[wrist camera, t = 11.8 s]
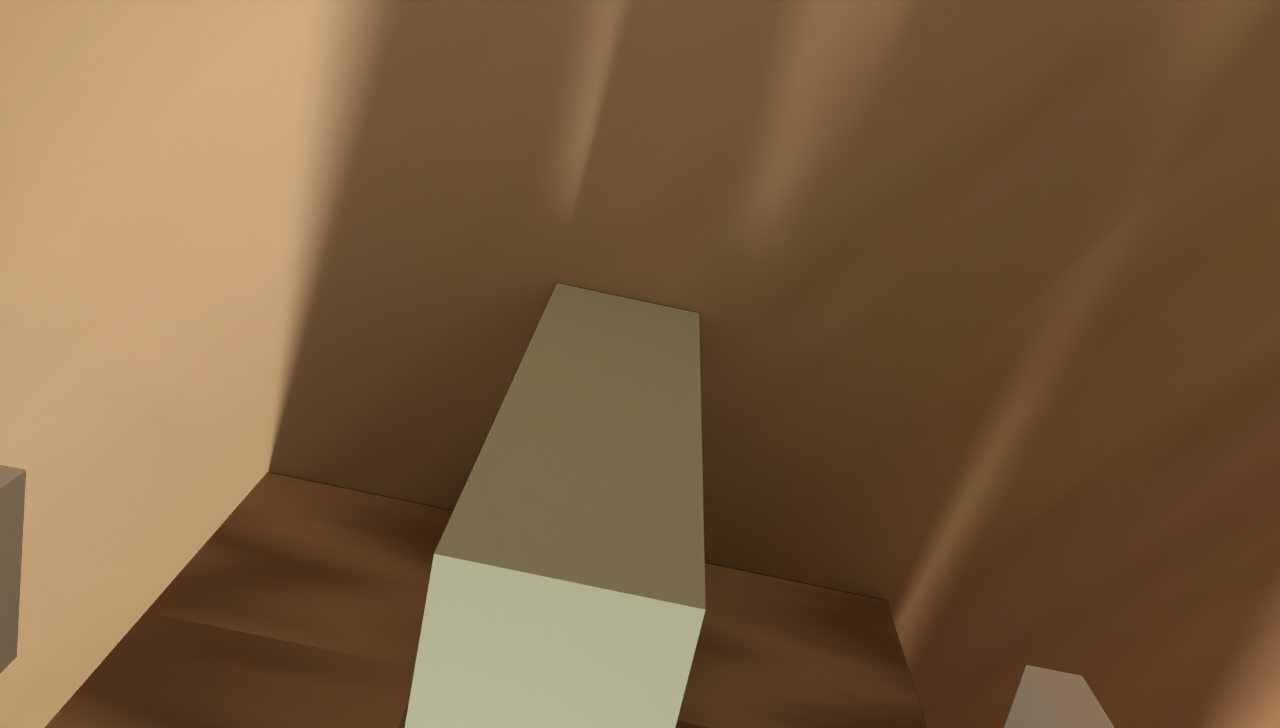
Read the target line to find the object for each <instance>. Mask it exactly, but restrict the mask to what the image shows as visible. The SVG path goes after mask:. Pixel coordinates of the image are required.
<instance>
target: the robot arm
mask: <svg viewBox="0 0 1280 728" xmlns="http://www.w3.org/2000/svg"><path fill="white" fill-rule="evenodd" d="M25 478H26V470H23V469H18V468H13V467H8V466H3V465H0V673H1V672H2V671H3V670H4V669H5V668H6V667H7V666H8V665H9V664H10V663H11V662H12V661H13V660H14V659H15V658H16V657H17V638H18V618H19V598H20V578H21V558H22V538H23V518H24V498H25ZM1004 728H1114V726H1113V725H1112V723H1111V721H1110V720H1109V718H1108V717H1107V715H1106V713H1105V712H1104V710H1103V708H1102V707H1101V705H1100V704H1099V702H1098V700H1097V699H1096V697H1095V696H1094V694H1093V692H1092V691H1091V689H1090V687H1089V686H1088V684H1087V683H1086V681H1085V679H1084V678H1083V676H1081V675H1076V674H1071V673H1065V672H1060V671H1055V670H1050V669H1045V668H1040V667H1035V666H1030V665H1026V667H1025V670H1024V673H1023V676H1022V678H1021V681H1020V684H1019V687H1018V690H1017V692H1016V695H1015V698H1014V701H1013V704H1012V707H1011V709H1010V712H1009V715H1008V718H1007V721H1006V723H1005V726H1004Z"/></svg>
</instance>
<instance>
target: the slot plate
mask: <svg viewBox="0 0 1280 728" xmlns="http://www.w3.org/2000/svg"><path fill="white" fill-rule="evenodd" d="M705 610H706V605H705V559H704V513H703V467H702V421H701V375H700V329H699V313H695V312H691V311H686V310H681V309H677V308H672V307H667V306H662V305H658V304H653V303H648V302H644V301H639V300H634V299H629V298H625V297H620V296H615V295H611V294H606V293H601V292H596V291H592V290H587V289H582V288H578V287H573V286H568V285H563V284H559V283H557V284H556V286H555V288H554V291H553V293H552V295H551V297H550V299H549V302H548V304H547V306H546V308H545V310H544V313H543V315H542V317H541V319H540V321H539V324H538V326H537V328H536V330H535V332H534V335H533V337H532V339H531V341H530V343H529V346H528V348H527V350H526V352H525V355H524V357H523V359H522V361H521V363H520V366H519V368H518V370H517V372H516V374H515V377H514V379H513V381H512V383H511V385H510V388H509V390H508V392H507V394H506V396H505V399H504V401H503V403H502V405H501V407H500V410H499V412H498V414H497V416H496V418H495V421H494V423H493V425H492V427H491V429H490V432H489V434H488V436H487V438H486V440H485V443H484V445H483V447H482V449H481V451H480V454H479V456H478V458H477V460H476V462H475V465H474V467H473V469H472V471H471V473H470V476H469V478H468V480H467V482H466V484H465V487H464V489H463V491H462V493H461V495H460V498H459V500H458V502H457V504H456V506H455V509H454V511H453V513H452V515H451V517H450V520H449V522H448V524H447V526H446V528H445V531H444V533H443V535H442V537H441V539H440V542H439V544H438V546H437V548H436V550H435V553H434V557H433V562H432V568H431V574H430V580H429V586H428V592H427V598H426V604H425V610H424V616H423V622H422V628H421V634H420V640H419V646H418V652H417V657H416V663H415V669H414V675H413V681H412V687H411V693H410V699H409V705H408V711H407V717H406V723H405V728H675V727H676V723H677V719H678V716H679V712H680V708H681V704H682V700H683V696H684V692H685V688H686V684H687V680H688V677H689V673H690V669H691V665H692V661H693V657H694V653H695V649H696V645H697V641H698V637H699V634H700V630H701V626H702V622H703V618H704V614H705Z"/></svg>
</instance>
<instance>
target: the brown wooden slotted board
mask: <svg viewBox="0 0 1280 728" xmlns="http://www.w3.org/2000/svg"><path fill="white" fill-rule="evenodd" d="M452 513H453V511H451V510H447V509H442V508H437V507H432V506H427V505H422V504H418V503H413V502H408V501H403V500H398V499H393V498H389V497H384V496H379V495H374V494H369V493H365V492H360V491H355V490H350V489H345V488H340V487H336V486H331V485H326V484H321V483H316V482H311V481H307V480H302V479H297V478H292V477H287V476H283V475H278V474H273V473H268V472H267V473H266V475H265V476H264V477H263V478H262V479H261V480H260V482H259V483H258V484H257V485H256V486H255V487H254V488H253V490H252V491H251V492H250V493H249V494H248V495H247V496H246V498H245V499H244V500H243V501H242V502H241V503H240V504H239V506H238V507H237V508H236V509H235V510H234V511H233V512H232V514H231V515H230V516H229V517H228V518H227V519H226V520H225V522H224V523H223V524H222V525H221V526H220V527H219V528H218V530H217V531H216V532H215V533H214V534H213V535H212V537H211V538H210V539H209V540H208V541H207V542H206V543H205V545H204V546H203V547H202V548H201V549H200V550H199V551H198V553H197V554H196V555H195V556H194V557H193V558H192V559H191V561H190V562H189V563H188V564H187V565H186V566H185V567H184V569H183V570H182V571H181V572H180V573H179V574H178V575H177V577H176V578H175V579H174V580H173V581H172V582H171V584H170V585H169V586H168V587H167V588H166V589H165V590H164V592H163V593H162V594H161V595H160V596H159V597H158V598H157V600H156V601H155V602H154V603H153V604H152V605H151V606H150V608H149V609H148V610H147V611H146V612H145V613H144V614H143V616H142V617H141V618H140V619H139V620H138V621H137V622H136V624H135V625H134V626H133V627H132V628H131V629H130V630H129V632H128V633H127V634H126V635H125V636H124V637H123V639H122V640H121V641H120V642H119V643H118V644H117V645H116V647H115V648H114V649H113V650H112V651H111V652H110V653H109V655H108V656H107V657H106V658H105V659H104V660H103V661H102V663H101V664H100V665H99V666H98V667H97V668H96V669H95V671H94V672H93V673H92V674H91V675H90V676H89V677H88V679H87V680H86V681H85V682H84V683H83V684H82V686H81V687H80V688H79V689H78V690H77V691H76V692H75V694H74V695H73V696H72V697H71V698H70V699H69V700H68V702H67V703H66V704H65V705H64V706H63V707H62V708H61V710H60V711H59V712H58V713H57V714H56V715H55V716H54V718H53V719H52V720H51V721H50V722H49V723H48V724H47V726H46V727H45V728H405V723H406V717H407V711H408V705H409V699H410V693H411V687H412V681H413V675H414V669H415V663H416V657H417V652H418V646H419V640H420V634H421V628H422V622H423V616H424V610H425V604H426V598H427V592H428V586H429V580H430V574H431V568H432V562H433V557H434V553H435V550H436V548H437V546H438V544H439V542H440V539H441V537H442V535H443V533H444V531H445V528H446V526H447V524H448V522H449V520H450V517H451V515H452ZM705 605H706V610H705V614H704V618H703V622H702V626H701V630H700V634H699V637H698V641H697V645H696V649H695V653H694V657H693V661H692V665H691V669H690V673H689V677H688V680H687V684H686V688H685V692H684V696H683V700H682V704H681V708H680V712H679V716H678V719H677V723H676V727H675V728H927V726H926V723H925V720H924V716H923V713H922V710H921V707H920V704H919V701H918V698H917V694H916V691H915V688H914V685H913V682H912V679H911V675H910V672H909V669H908V666H907V663H906V660H905V657H904V653H903V650H902V647H901V644H900V641H899V638H898V634H897V631H896V628H895V625H894V622H893V619H892V615H891V612H890V609H889V606H888V603H887V601H885V600H881V599H876V598H871V597H866V596H861V595H856V594H852V593H847V592H842V591H837V590H832V589H828V588H823V587H818V586H813V585H808V584H803V583H799V582H794V581H789V580H784V579H779V578H774V577H770V576H765V575H760V574H755V573H750V572H746V571H741V570H736V569H731V568H726V567H721V566H717V565H712V564H707V563H705Z"/></svg>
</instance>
